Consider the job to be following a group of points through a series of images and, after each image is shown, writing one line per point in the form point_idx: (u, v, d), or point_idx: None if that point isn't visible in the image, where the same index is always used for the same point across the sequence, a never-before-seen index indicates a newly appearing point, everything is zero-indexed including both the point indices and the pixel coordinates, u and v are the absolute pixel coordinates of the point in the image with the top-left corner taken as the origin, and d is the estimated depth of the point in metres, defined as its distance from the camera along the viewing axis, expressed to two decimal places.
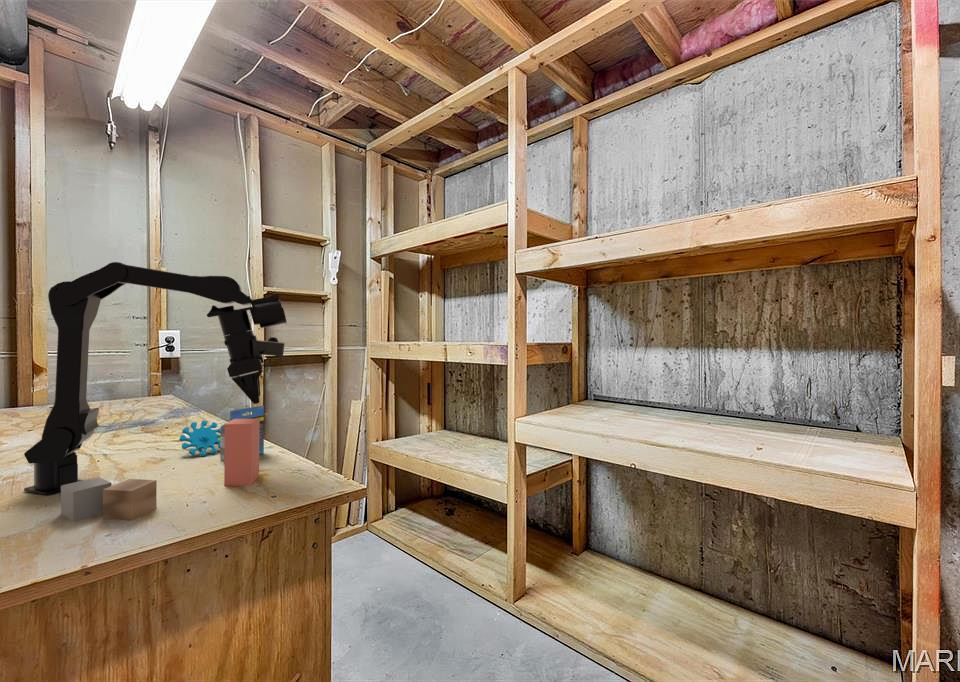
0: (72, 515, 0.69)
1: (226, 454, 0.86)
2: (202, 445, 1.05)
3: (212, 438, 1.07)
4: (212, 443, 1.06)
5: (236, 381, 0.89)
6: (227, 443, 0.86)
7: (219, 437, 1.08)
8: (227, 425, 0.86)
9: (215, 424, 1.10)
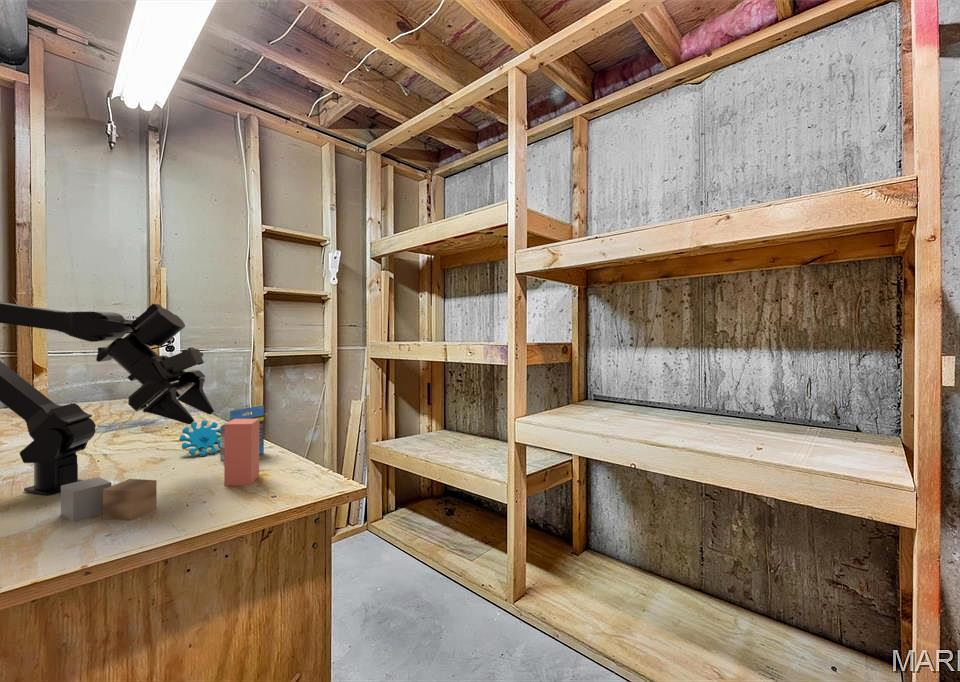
0: (72, 515, 0.69)
1: (226, 454, 0.86)
2: (202, 445, 1.05)
3: (212, 438, 1.07)
4: (212, 443, 1.06)
5: (152, 411, 0.79)
6: (227, 443, 0.86)
7: (219, 437, 1.08)
8: (227, 425, 0.86)
9: (215, 424, 1.10)
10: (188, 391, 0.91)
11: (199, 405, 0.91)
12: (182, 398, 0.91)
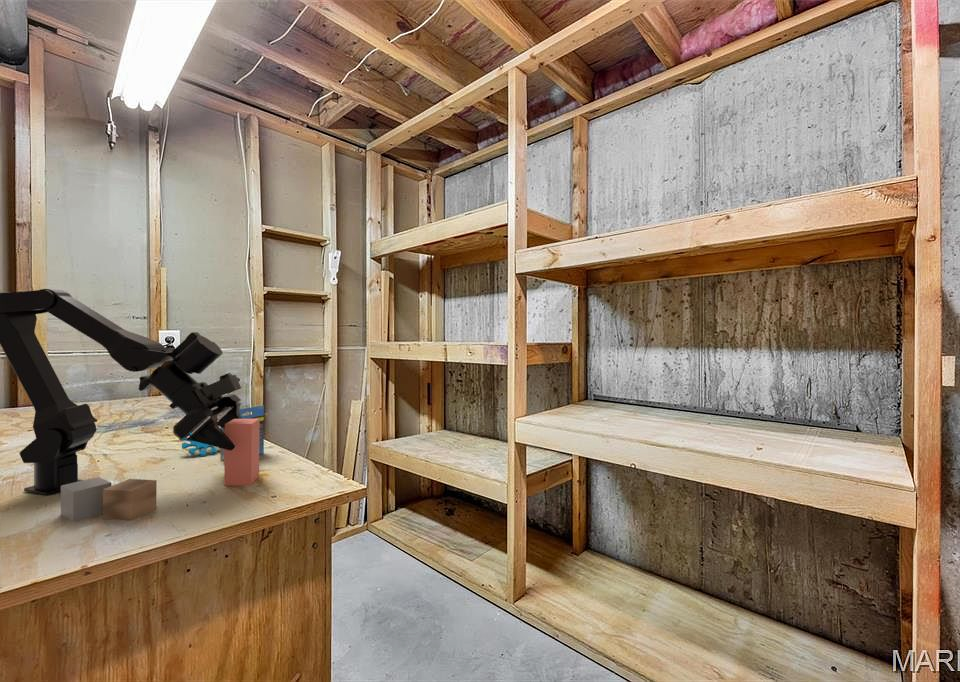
0: (72, 515, 0.69)
1: (226, 454, 0.86)
2: (202, 445, 1.05)
3: None
4: None
5: (195, 439, 0.81)
6: None
7: None
8: (227, 425, 0.86)
9: None
10: (225, 416, 0.93)
11: None
12: (220, 423, 0.92)
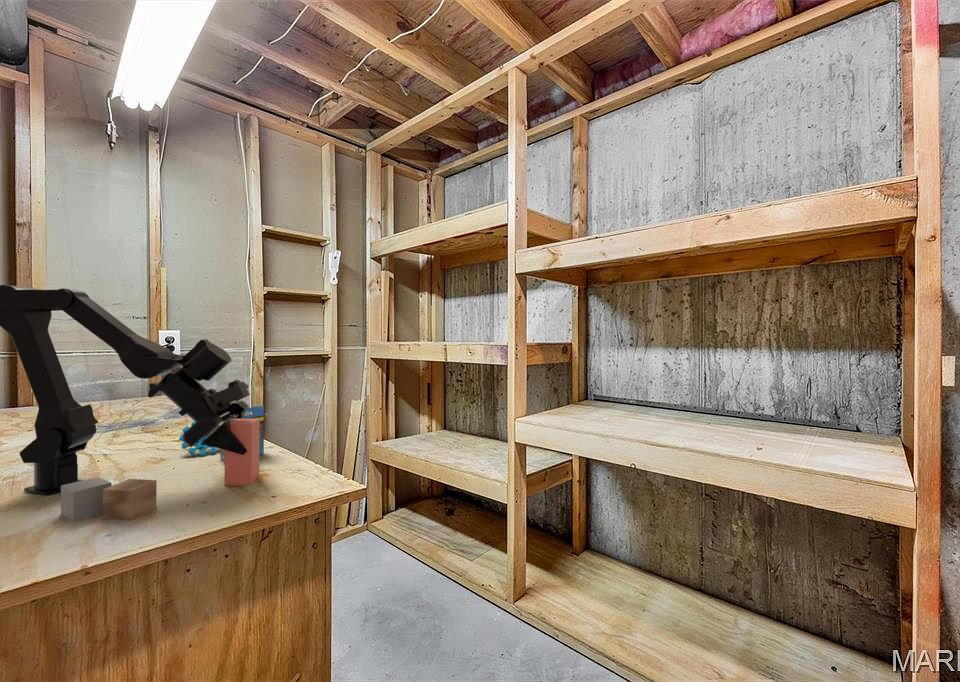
0: (72, 515, 0.69)
1: (226, 454, 0.86)
2: (202, 445, 1.05)
3: None
4: None
5: (209, 444, 0.83)
6: None
7: None
8: None
9: None
10: None
11: None
12: None
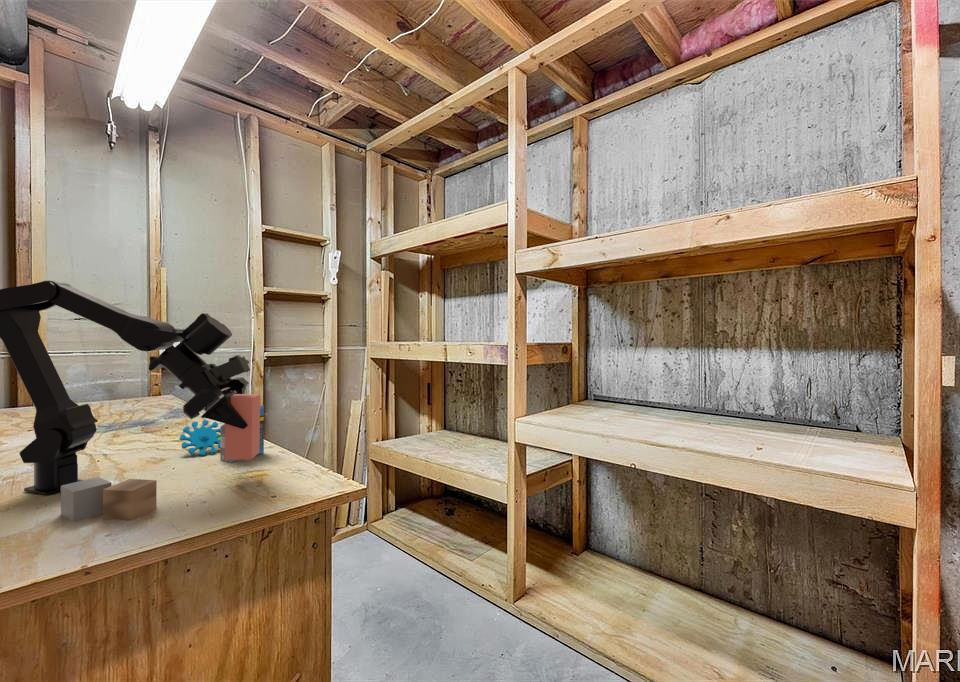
0: (72, 515, 0.69)
1: (227, 428, 0.86)
2: (202, 445, 1.05)
3: (212, 438, 1.08)
4: (211, 443, 1.07)
5: (209, 417, 0.83)
6: None
7: (219, 437, 1.09)
8: None
9: (216, 424, 1.11)
10: None
11: None
12: None
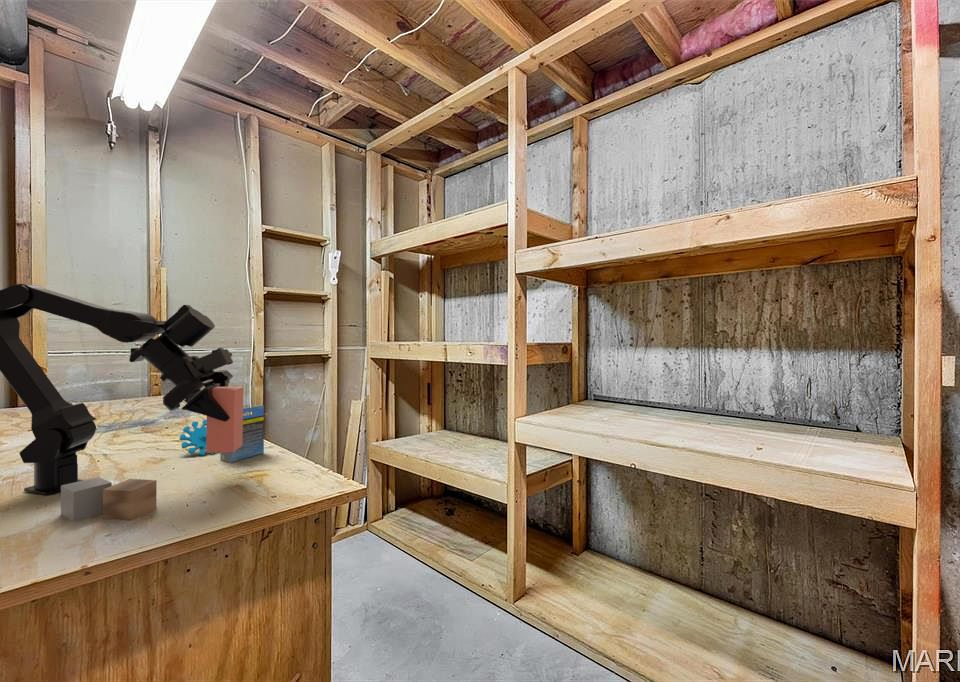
0: (72, 515, 0.69)
1: (208, 420, 0.85)
2: (201, 444, 1.05)
3: None
4: None
5: (190, 409, 0.82)
6: None
7: None
8: None
9: None
10: None
11: None
12: None
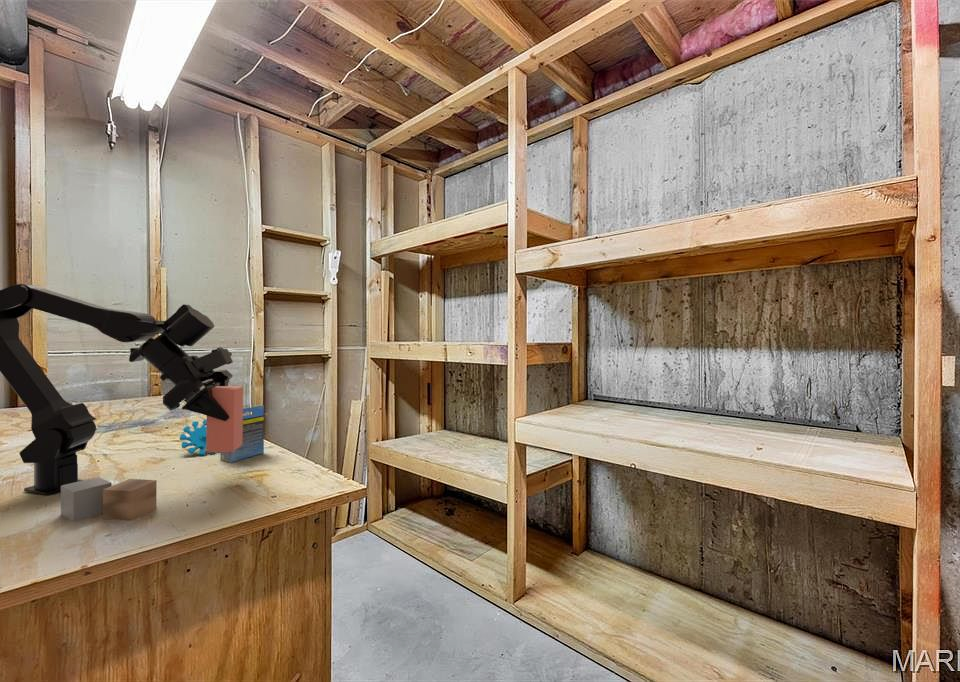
0: (72, 515, 0.69)
1: (208, 420, 0.85)
2: (201, 444, 1.05)
3: None
4: None
5: (190, 408, 0.82)
6: None
7: None
8: None
9: None
10: None
11: None
12: None
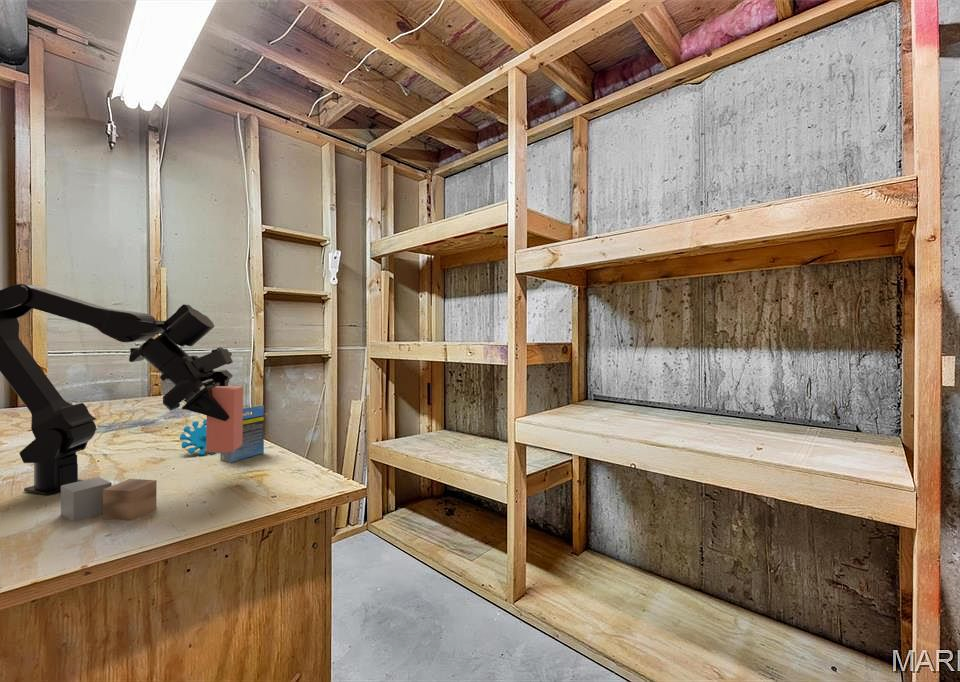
0: (72, 515, 0.69)
1: (208, 420, 0.85)
2: (201, 444, 1.05)
3: None
4: None
5: (190, 408, 0.82)
6: None
7: None
8: None
9: None
10: None
11: None
12: None
